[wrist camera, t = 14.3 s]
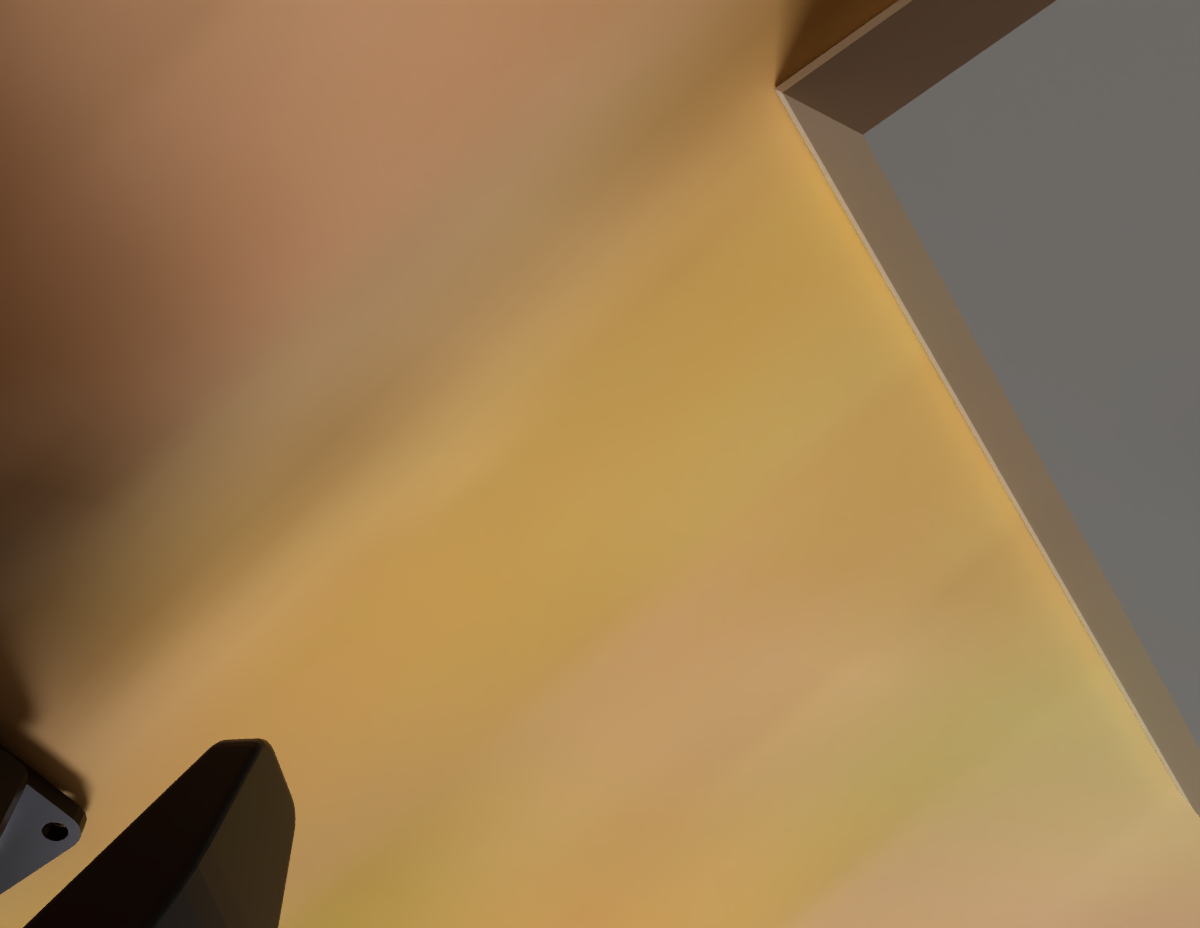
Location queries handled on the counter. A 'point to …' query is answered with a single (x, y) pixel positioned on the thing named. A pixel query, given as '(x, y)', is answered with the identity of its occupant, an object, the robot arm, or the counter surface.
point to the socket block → (1050, 285)
